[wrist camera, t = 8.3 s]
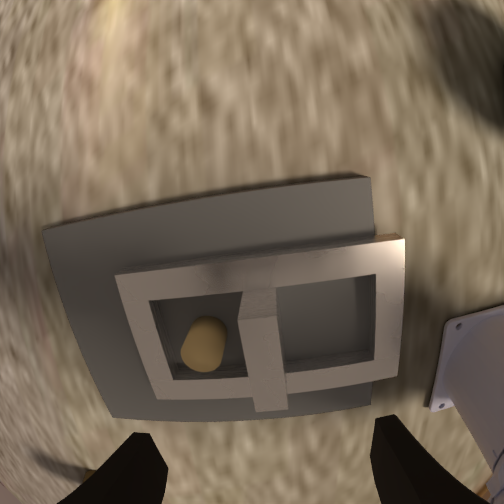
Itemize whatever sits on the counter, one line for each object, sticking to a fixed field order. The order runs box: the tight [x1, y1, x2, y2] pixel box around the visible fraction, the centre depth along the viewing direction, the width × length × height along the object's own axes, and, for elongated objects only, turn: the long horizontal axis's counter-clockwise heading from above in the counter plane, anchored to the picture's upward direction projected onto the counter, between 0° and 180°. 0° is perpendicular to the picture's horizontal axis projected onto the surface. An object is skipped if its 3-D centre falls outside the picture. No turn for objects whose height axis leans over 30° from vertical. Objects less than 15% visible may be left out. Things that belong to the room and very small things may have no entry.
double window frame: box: [115, 233, 405, 412], centre depth 15 cm, size 14×8×4 cm, turn 98°
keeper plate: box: [42, 176, 375, 422], centre depth 16 cm, size 18×14×3 cm
